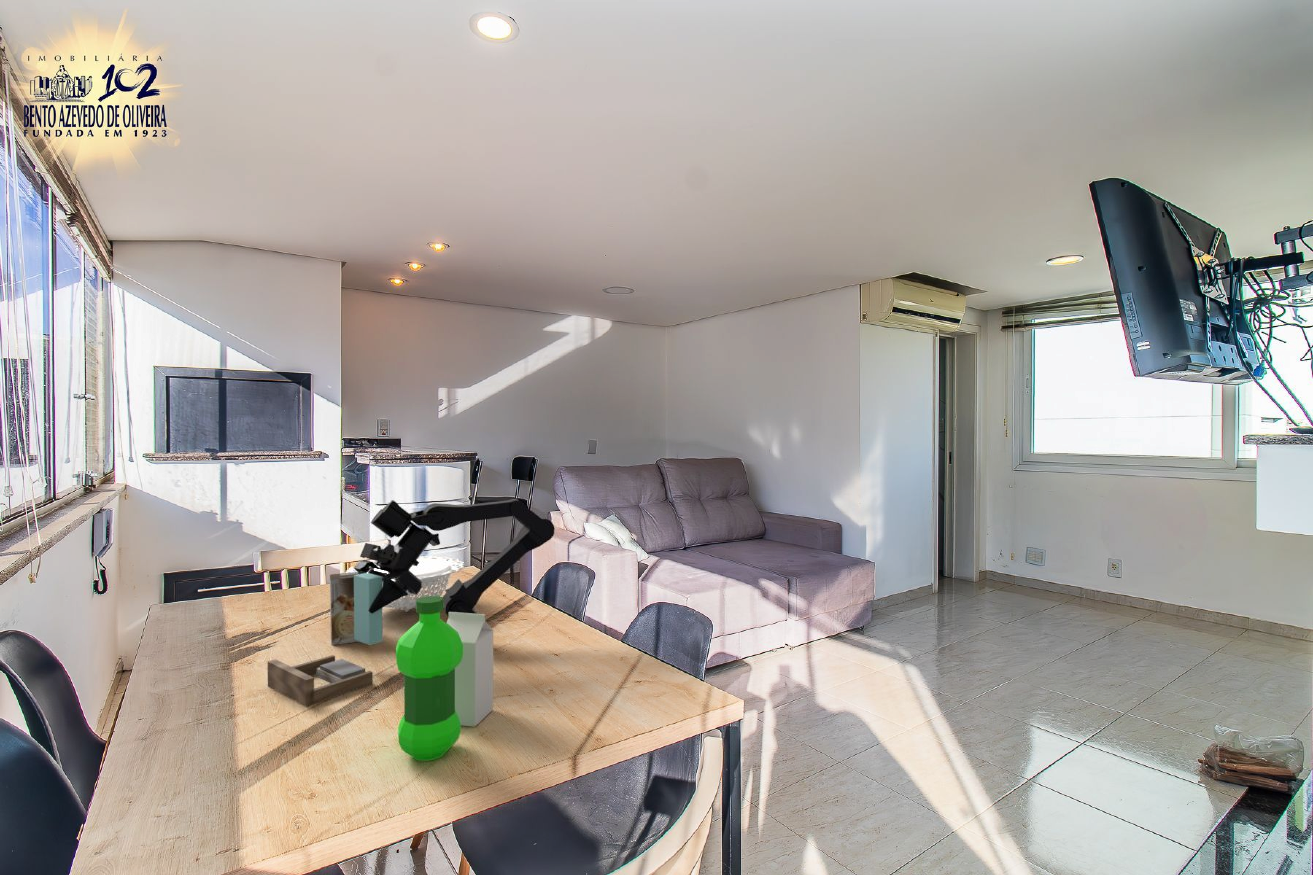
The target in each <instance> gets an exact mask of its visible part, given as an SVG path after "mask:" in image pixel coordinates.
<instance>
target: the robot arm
mask: <svg viewBox="0 0 1313 875" xmlns="http://www.w3.org/2000/svg"><path fill="white" fill-rule="evenodd" d="M508 517H513V518H514V519H515V520H517V522H519V523H520V524H521V525H522V527H521V528H520V529H519V531H518V533H517V535H516V537H515V538H514V540H513V541H511V542H510V543H509V544H508V545H507V546H506V547H505V548H504V549H502V550H501V551H500V553H498V554H497V555H496V556H495V557H494V558H493V559H491V560H490V561H489V562H488V563H486V565H485V566H484V567H482V568H481V569H480V570H479V571H478V572H477V573H476V574H475V575H474V576H473V577H471V578H470V579H468V580H467V581H464V582H462V580H460V579H457V580H456V581H455V582H454V583H453V584H452V585H451V586H450V587H449V588H447V589H445V590H444V592H445V594H444V595H443V596H442V597H443V611H444V613H445V614H446V616H447V618H449V612H457V613H472V614H479V612H478V611H477V610H476V609H475V606H477V604H478V602H479V600H480V599H481V597H482V595H483V594H484V592H485V591H487V589H489V588H490V587H492V585H493V584H494V583H496V581H498V580H499V579H500V578H501V577H502V576H503V575H504V574H505V573H506V572H508V571H509V569H511V568H512V567H513V566H514V565H515V564H516V563H517V562H519V560H520V559H522V558H523V557H524V556H525V555H526V554H527V553H529V552H530V551H532V550H535V549H537V548H539V547H541V546H543V545H544V544H546V543H547V542H548V541H551V540H552V538H553V537H554V536H555V529H556V528H555V524H554V523H553V522H552V521H551V520H550V519H548V518H546V517H544V516H541V515H538V514H537V513H535V511H532V510H531V509H530V508H528V507H527V506H526V505H525V504H524V503H523V501H521V500H518V499H516V498H511V499H507V500H500V501H490V502H489V501H488V502H482V503H481V502H480V503H473V504H472V503H471V504H462V505H461V504H451V503H450V504H449V503H430V504H428V505H426V507H425V508H424V509H421V510H419V511H413V512H408V511H407V510H406V509H404V508H403V507H402V506H400V504H398V502H397V501H395V500H394V499H392V500H390V502H388V504H386V505H385V506H384V507H383V508H382V509H380V510H379V511H378V512H377V513H376V514H375V515H374V516H373V518H372V520H371V521H370V524H371V525H373V526H374V527H376V528H377V529H378V530H380V531H381V532H382V533H384V534H385V535H386V536H388V537H389V538H390V539H392V538H394V537H396V538H400V537H401V538H400V539H399V540H398V541H397V543H396V544H395V545H393V544H390V543H386V542H384V543H383V544H382V545H381V546H380V545H377V544H372V543H367V542H365V543H364V546H363V548H362V551H361V553H360V555H359V558H362V560H361V559H360V560H358V562H357V563H356V564H355V565H354V566H353V567H354V569H355V570H356V571H357V572H358V574H363V573H370V574H374V575H378V576H382V582H383V587H382V589H381V591H380V592H379V594H378V595H377V597H376V598H375V600H374V602H373V603H372V605H371V606H370V608H369V610H368V611H369V612H370V613H374V612H376V611H378V610H379V609H381V608H382V609H383V608H386V607H385V606H386V605H388V604H390V603H393V601H395V600H397V599H399V598H402V597H403V598H404V597H405V596H407V595H408V593H407V592H406V591H407V590H408V592H409V593H412V594H415V595H417V594H418V592H419V591H420V592H421V590H422V589H423V588H422V582H421V581H420V580H419V579H418V578H417V577H416V576H415V575H414V574H413V573H411V572H410V571H409V569H410V568H411V567H412V565H413V566H417V565H418V564H419V562H418V561H417V559H419V557H421V555H423V552H424V551H425V550H426V548H427V547H428V546H429V545H430V546H433V547H435V546H439V545H440V544H441V541H440V538H439V535H440V534H439V533H432V532H431V531H433V532H440V531H443V530H448V529H450V528H454V527H456V526H458V525H461V524H464V523H468V522H476V521H483V520H491V519H501V518H508ZM419 526H421V528H420V527H419ZM426 527H427V528H429V529H430V530H431V531H430V530H428V529H427V528H426ZM366 559H368V560H366ZM370 560H371V561H375V562H374V563H375V564H374V563H373V562H371V561H370ZM378 566H379V567H380V568H379V567H378ZM420 592H419V593H420ZM415 595H414V596H415ZM418 595H419V594H418ZM418 595H417V596H418ZM352 606H353V607H354V602H353V605H352Z"/></svg>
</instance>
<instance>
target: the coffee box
mask: <svg viewBox="0 0 1313 875" xmlns="http://www.w3.org/2000/svg"><path fill="white" fill-rule="evenodd" d="M354 575H358V572H352V573H346V572H343V573H332V574H329V595H330V596H329V599H330V602H329V604H330V645H331V646H337V645H344V644H350V643H357V642H359V643H360V641H357V640H354V607H353V606H352V605H353V602H354Z"/></svg>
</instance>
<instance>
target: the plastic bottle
mask: <svg viewBox="0 0 1313 875" xmlns="http://www.w3.org/2000/svg"><path fill="white" fill-rule="evenodd" d="M418 598H419V597H418ZM415 611H416V614H419V617H418V618H419V620H418V621H416V623H415V624H414V625H413V626H411V627H410V628H409V629H407V631H406V632H405V633H404V634H402V636H401V637H399V638H398V641H397V642H396V646H395V658H396V660H395V661H396V665H397V669H398V671H399V672H400V673H401V674H403V676H404V677H403V678H404V679H403V680H404V682H403V683H404V685H403V687H404V688H403V689H404V690H403V693H404V699H403V700H404V701H403V702H404V705H403V707H404V708H403V710H404V711H403V712H404V713H403V716H402V717H401V719H400V721H399V724H398V726H397V735H398V737H397V738H398V744H399V746H400V749H401V751H403V753H405V754H407V755H408V756H411V757H412V758H413V759H415V760H417V761H420V762H428V761H433V760H434V761H435V760H437V759H439V758H442V757H443V756H444V755H445V754H446V753H447V751H448V750H449V749H450V748H451V747H453V745H455V743H456V742H457V741H458V740H459V738H460V735H461V731H462V725H461V724H460V720H459V717H458V714H457V712H456V710H455V668H456V667H457V666H458V665H459V663H460V662H461V660H462V656H463V644H462V641H461V639H460V636H459V634H458V632H457V631H456V630H455V629H453V628H452V627H451V626H450V625H448V624H447V622H445V621H444V620H442V619H441V612H443V611H444V609H443V596H431V595H430V596H427V597H421V598H419V599H417V600H416V608H415Z"/></svg>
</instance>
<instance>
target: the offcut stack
mask: <svg viewBox="0 0 1313 875" xmlns="http://www.w3.org/2000/svg"><path fill="white" fill-rule="evenodd" d="M365 672H366V667H365V668H364V667H363V666H360V665H358V664H356V663H353V662H350V661H348V660H346V659H343V658H340V659H337V660H335V661H333V662H330V663H327V664H323V665H320V668H317V672H316V673H315V674H316V677H318V678H320V679H322V680H324V681H326V682H329V684H330V683H333V682H337V681H340V680H343V679H346V678H349V677H352V676H355V675H359V674H362V673H365Z"/></svg>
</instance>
